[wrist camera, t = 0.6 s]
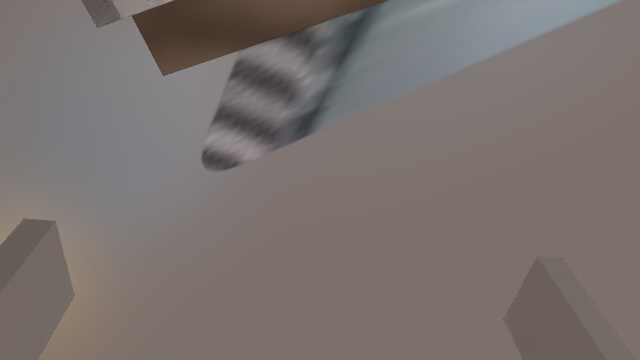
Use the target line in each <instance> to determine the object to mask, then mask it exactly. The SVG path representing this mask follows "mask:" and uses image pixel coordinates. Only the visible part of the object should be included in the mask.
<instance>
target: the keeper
mask: <svg viewBox="0 0 640 360" xmlns="http://www.w3.org/2000/svg"><path fill="white" fill-rule="evenodd" d="M170 1H173V0H82V2H83V3H84V5H85V7H86V9H87V10H88V12H89V14H90V16H91V17H92V19H93V21H94V23H95V24H96V26H97V27H101V26H104V25H107V24H110V23H112V22H115V21H118V20H121V19H123V18H126V17H129V16H132V15H134V14H137V13H140V12H143V11H145V10H148V9H151V8H154V7H156V6H159V5H162V4H165V3H167V2H170Z"/></svg>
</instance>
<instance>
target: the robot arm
mask: <svg viewBox="0 0 640 360" xmlns="http://www.w3.org/2000/svg"><path fill="white" fill-rule="evenodd" d="M74 296H75V295H74V292H73V288H72V284H71V280H70V276H69V272H68V268H67V264H66V260H65V257H64V252H63V248H62V244H61V241H60V237H59V233H58V229H57V225H56V221H48V220H35V219H23V220H22V221H21V223H20V224H19V225H18V226H17V227H16V228H15V230H14V231H13V232H12V233H11V234H10V235H9V236H8V237H7V239H6V240H5V241H4V242H3V243H2V244H1V245H0V360H38V358H39V357H40V355H41V353H42V351H43V350H44V348H45V346H46V344H47V343H48V341H49V339H50V337H51V336H52V334H53V332H54V330H55V329H56V327H57V325H58V324H59V322H60V320H61V318H62V317H63V315H64V313H65V311H66V310H67V308H68V306H69V304H70V303H71V301H72V299H73V297H74ZM503 320H504V322H505V324H506V326H507V328H508V330H509V332H510V334H511V336H512V338H513V340H514V342H515V345H516V347H517V349H518V351H519V353H520V355H521V357H522V359H523V360H637V358H636V357H635V356H634V354H633V353H632V352H631V350H630V349H629V348H628V346H627V345H626V343H625V342H624V341H623V339H622V338H621V337H620V335H619V334H618V333H617V331H616V330H615V329H614V327H613V326H612V324H611V323H610V322H609V320H608V319H607V318H606V316H605V315H604V314H603V312H602V311H601V310H600V308H599V307H598V305H597V304H596V303H595V301H594V300H593V299H592V297H591V296H590V295H589V293H588V292H587V290H586V289H585V288H584V287H583V285H582V284H581V282H580V281H579V280H578V278H577V277H576V276H575V274H574V273H573V272H572V270H571V269H570V267H569V266H568V265H567V263H566V262H565V261H564V259H563V258H562V257H548V256H537V257H536V259H535V261H534V263H533V265H532V266H531V268H530V270H529V272H528V274H527V276H526V278H525V280H524V282H523V284H522V285H521V287H520V289H519V291H518V293H517V295H516V297H515V299H514V301H513V302H512V304H511V306H510V308H509V310H508V312H507V314H506V315H505V318H504V319H503Z"/></svg>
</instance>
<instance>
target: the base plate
mask: <svg viewBox="0 0 640 360" xmlns="http://www.w3.org/2000/svg"><path fill="white" fill-rule="evenodd" d="M384 1H387V0H173V1H170V2H167V3H165V4H162V5H159V6H156V7H154V8H151V9H148V10H145V11H143V12H140V13H137V14H134V15H132V17H133V19H134V21H135V23H136V25H137V27H138V28H139V31H140V33H141V34H142V36H143V38H144V40H145V42H146V44H147V46H148V48H149V50H150V51H151V53H152V55H153V57H154V59H155V61H156V63H157V65H158V67H159V68H160V70H161V72H162V74H163V76H165V75H168V74H171V73H174V72H176V71H180V70H182V69H185V68H188V67H191V66H194V65H197V64H200V63H203V62H206V61H209V60H212V59H215V58H218V57H221V56H224V55H226V54H230V53H233V52H236V51H239V50H242V49H245V48H248V47H251V46H254V45H257V44H259V43H262V42H265V41H268V40H271V39H274V38H277V37H280V36H283V35H286V34H289V33H292V32H295V31H298V30H301V29H304V28H307V27H310V26H313V25H316V24H319V23H322V22H325V21H328V20H331V19H334V18H336V17H339V16H342V15H345V14H348V13H351V12H354V11H357V10H360V9H363V8H366V7H369V6H372V5H375V4H378V3H381V2H384Z"/></svg>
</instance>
